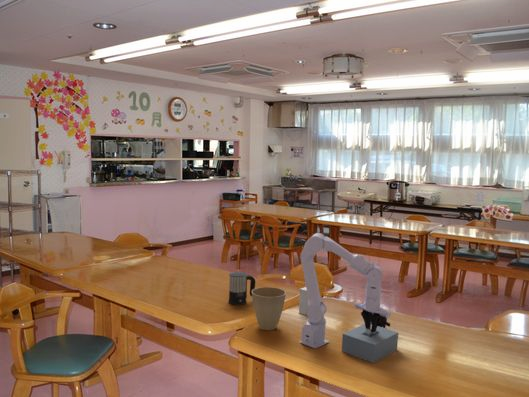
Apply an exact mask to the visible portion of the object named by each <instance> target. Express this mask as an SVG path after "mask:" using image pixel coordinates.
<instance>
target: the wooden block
mask: <svg viewBox="0 0 529 397" xmlns="http://www.w3.org/2000/svg"><path fill="white" fill-rule="evenodd" d="M376 332H377V329H376V331H375V332H372V326H370V327H368V328H366V329H365V335H366V336H369V337H371V336H373V335H375V334H376Z"/></svg>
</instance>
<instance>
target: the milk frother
mask: <svg viewBox="0 0 529 397" xmlns="http://www.w3.org/2000/svg"><path fill="white" fill-rule="evenodd" d="M228 276H229V284H228V285H229V286H228V287H229V289H228V291H229V292H228V293H229V294H228V303H229V304H231V305H235V306H236V305H237V306H239V305H245V304H246V303H247V298H248V297H247V296H248V294H247V292H248V291H247V290H248V280H249V284H250V285H249V296H250V297H252V290H253V289H255V288H256V278H254V276H252V275H249V274H248V273H247V272H245V271H231V272H229V273H228Z"/></svg>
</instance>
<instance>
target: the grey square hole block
mask: <svg viewBox="0 0 529 397" xmlns="http://www.w3.org/2000/svg"><path fill="white" fill-rule="evenodd" d="M371 326H372V324H371ZM365 329H366V327H365V323H363V324H361V325H359V326H357V327H355V328H352V329H350V330H348V331H345V332H343V333H342V340H341V343H342V344H341V352H343V353H345V354H347V355H351V356H353V357H356V358H359V359H362V360H364V361H366V362H370V363H372V364H374V363H376V362H379V361H380V360H381V359H383V358H386V357H387V356H388V355H390V354H392V353H394V352H396V351H397V350H398V344H399V343H398V340H399V332H397V331H395V330H391V329H388V328H386V327H385V328H383V327H379V326H377V332H376V334H375V335H373V336H371V337H369V336H366V335H365Z"/></svg>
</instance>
